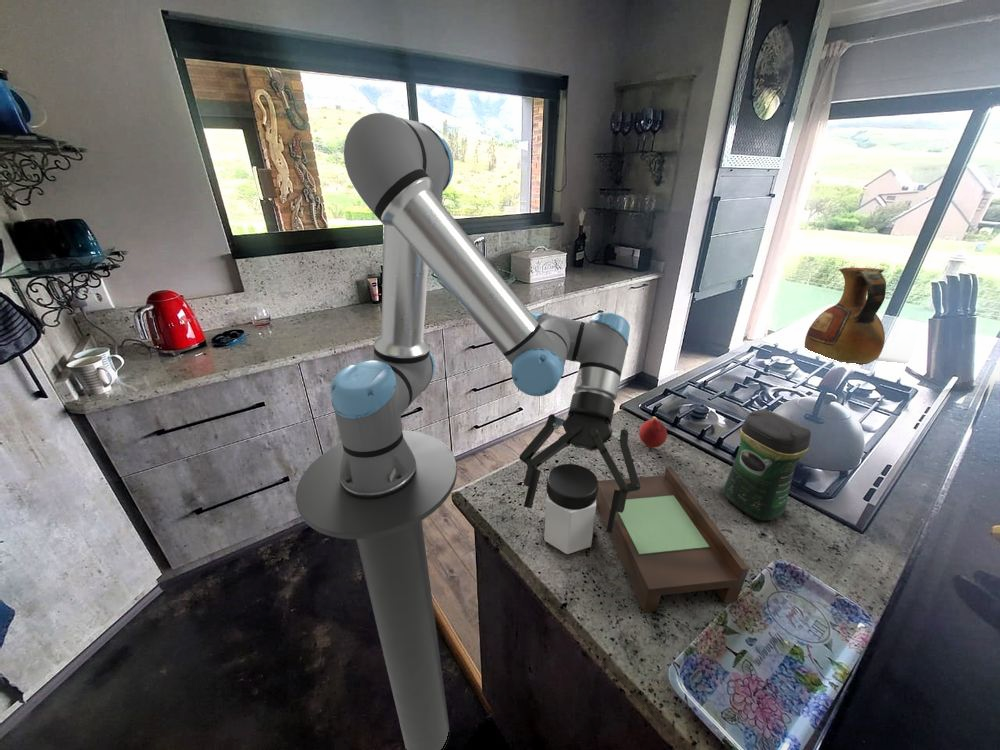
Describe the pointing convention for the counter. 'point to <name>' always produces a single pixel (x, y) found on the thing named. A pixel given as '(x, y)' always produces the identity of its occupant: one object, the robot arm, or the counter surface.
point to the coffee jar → (765, 464)
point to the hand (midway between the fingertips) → (566, 519)
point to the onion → (653, 433)
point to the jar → (570, 507)
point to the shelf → (670, 542)
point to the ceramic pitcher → (852, 320)
